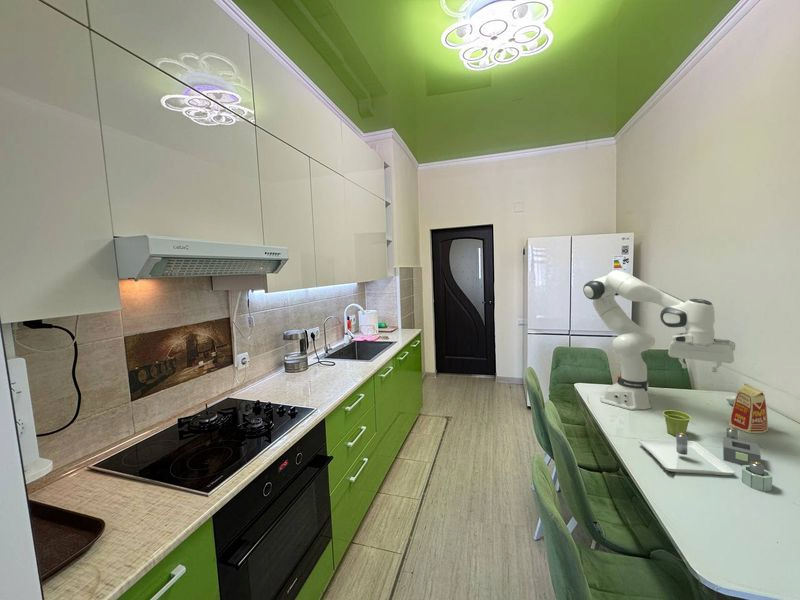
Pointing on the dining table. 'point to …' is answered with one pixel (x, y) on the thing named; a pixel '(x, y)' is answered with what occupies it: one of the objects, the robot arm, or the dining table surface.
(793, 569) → the dining table surface
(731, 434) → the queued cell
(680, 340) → the robot arm
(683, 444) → the cell
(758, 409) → the milk carton
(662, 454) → the salad plate
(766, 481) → the cup
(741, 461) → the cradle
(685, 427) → the plant pot
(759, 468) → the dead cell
